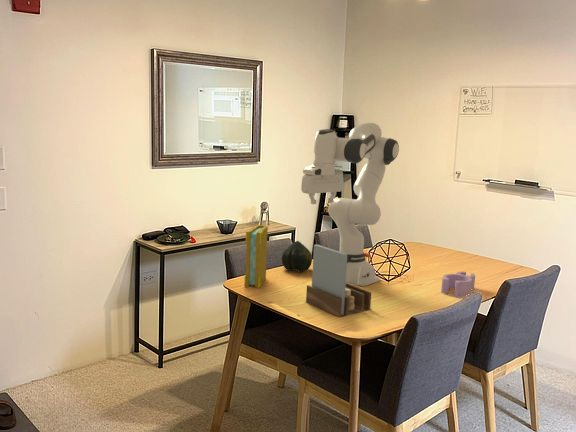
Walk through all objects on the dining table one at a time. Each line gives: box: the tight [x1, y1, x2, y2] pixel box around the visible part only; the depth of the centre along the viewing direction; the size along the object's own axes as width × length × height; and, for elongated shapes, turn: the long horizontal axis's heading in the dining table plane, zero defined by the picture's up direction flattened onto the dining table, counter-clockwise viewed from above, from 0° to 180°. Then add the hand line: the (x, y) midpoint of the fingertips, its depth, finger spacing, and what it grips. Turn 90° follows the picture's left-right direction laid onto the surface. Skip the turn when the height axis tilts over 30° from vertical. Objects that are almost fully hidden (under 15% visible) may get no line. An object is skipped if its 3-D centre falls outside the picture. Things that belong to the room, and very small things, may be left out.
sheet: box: [311, 244, 347, 315], centre depth 228 cm, size 2×18×24 cm, turn 37°
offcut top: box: [345, 288, 351, 297], centre depth 233 cm, size 5×10×2 cm, turn 34°
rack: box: [304, 282, 373, 319], centre depth 233 cm, size 18×21×8 cm
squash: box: [281, 240, 313, 273], centre depth 288 cm, size 14×15×15 cm
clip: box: [440, 271, 476, 298], centre depth 265 cm, size 20×12×7 cm, turn 139°
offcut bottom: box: [348, 303, 355, 311], centre depth 234 cm, size 5×14×2 cm, turn 37°
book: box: [244, 224, 269, 288], centre depth 264 cm, size 17×7×25 cm, turn 168°
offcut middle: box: [348, 296, 355, 304], centre depth 233 cm, size 5×12×2 cm, turn 40°
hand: (322, 203), depth 238 cm, fingers open, 8 cm apart
